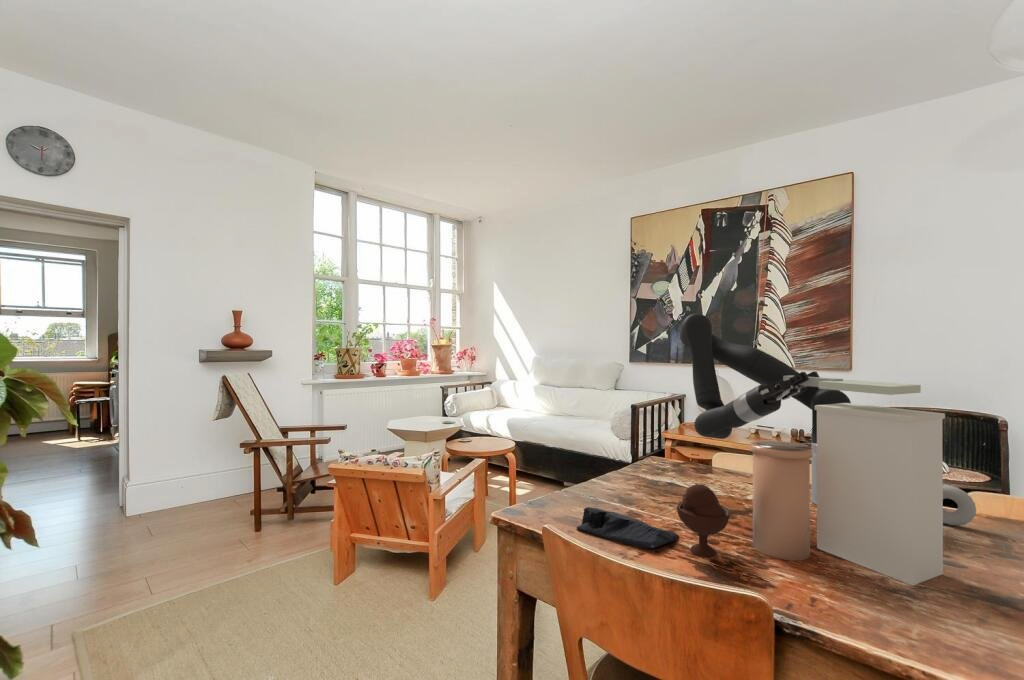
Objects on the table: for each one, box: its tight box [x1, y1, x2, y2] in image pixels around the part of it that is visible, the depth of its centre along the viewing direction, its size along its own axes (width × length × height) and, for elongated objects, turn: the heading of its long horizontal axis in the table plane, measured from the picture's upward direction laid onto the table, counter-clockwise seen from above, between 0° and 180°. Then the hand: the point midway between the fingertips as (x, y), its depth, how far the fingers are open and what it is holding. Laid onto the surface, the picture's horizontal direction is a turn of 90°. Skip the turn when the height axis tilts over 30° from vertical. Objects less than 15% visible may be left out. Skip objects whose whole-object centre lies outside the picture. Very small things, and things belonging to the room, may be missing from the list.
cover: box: [783, 376, 922, 396], centre depth 106 cm, size 11×25×2 cm, turn 25°
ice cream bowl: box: [676, 483, 731, 559], centre depth 103 cm, size 11×11×15 cm
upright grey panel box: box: [815, 402, 946, 586], centre depth 100 cm, size 12×19×32 cm, turn 25°
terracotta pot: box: [749, 439, 812, 561], centre depth 105 cm, size 12×12×23 cm
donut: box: [943, 484, 977, 527], centre depth 120 cm, size 10×4×10 cm, turn 40°
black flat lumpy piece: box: [576, 506, 680, 550], centre depth 114 cm, size 15×22×5 cm
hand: (811, 375), depth 112 cm, fingers closed on cover, 3 cm apart
